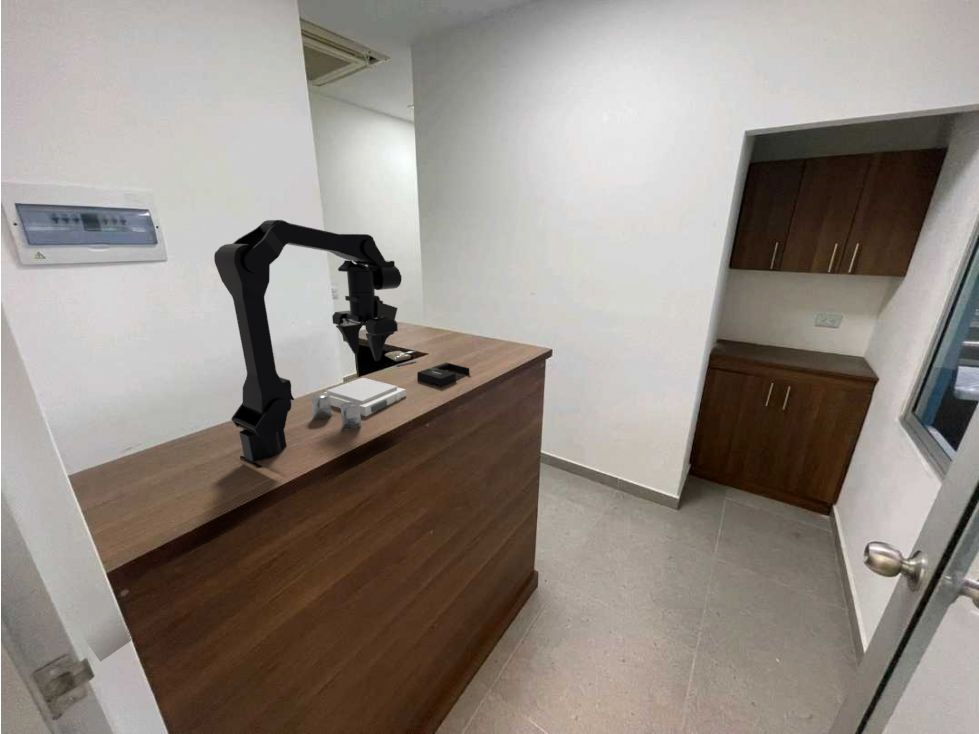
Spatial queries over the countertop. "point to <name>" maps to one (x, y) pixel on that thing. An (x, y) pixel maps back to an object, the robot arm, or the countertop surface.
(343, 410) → the spacer
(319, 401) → the spacer
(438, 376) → the battery charger
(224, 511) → the countertop surface
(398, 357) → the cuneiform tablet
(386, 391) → the scale
